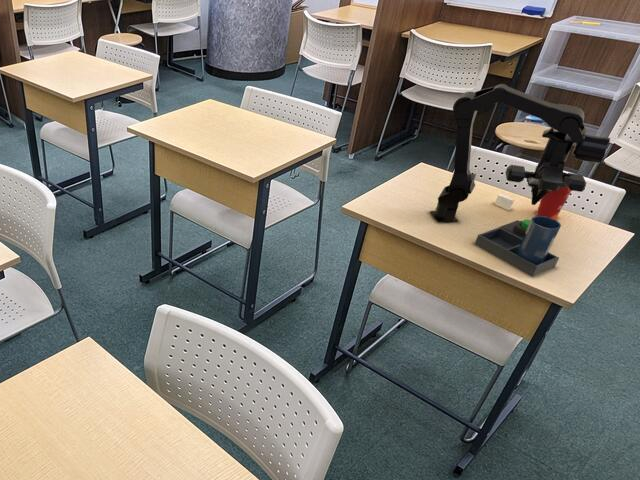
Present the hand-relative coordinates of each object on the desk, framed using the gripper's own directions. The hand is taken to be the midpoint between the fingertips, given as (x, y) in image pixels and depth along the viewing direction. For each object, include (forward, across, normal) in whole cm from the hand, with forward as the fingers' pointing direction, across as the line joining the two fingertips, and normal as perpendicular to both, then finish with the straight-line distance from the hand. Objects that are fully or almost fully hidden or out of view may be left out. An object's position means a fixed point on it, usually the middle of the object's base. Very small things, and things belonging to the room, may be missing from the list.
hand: (532, 204), depth 159 cm
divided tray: (+12, -2, -11) cm, 16 cm away
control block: (+12, +1, 0) cm, 12 cm away
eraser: (+12, -3, +19) cm, 22 cm away
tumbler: (+11, +1, -14) cm, 18 cm away
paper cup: (+12, +9, +18) cm, 23 cm away
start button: (+8, +1, 0) cm, 8 cm away
